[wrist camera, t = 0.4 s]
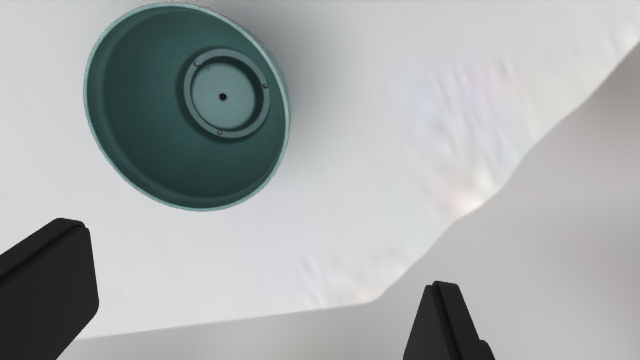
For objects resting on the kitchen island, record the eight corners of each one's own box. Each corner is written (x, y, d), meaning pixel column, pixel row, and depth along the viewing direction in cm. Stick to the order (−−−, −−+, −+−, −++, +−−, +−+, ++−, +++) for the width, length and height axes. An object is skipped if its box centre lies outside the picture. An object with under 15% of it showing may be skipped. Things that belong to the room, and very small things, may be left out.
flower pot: (135, 14, 36) (51, 11, 26) (298, 1, 34) (276, -8, 24) (171, 168, 42) (115, 213, 32) (311, 164, 41) (297, 209, 31)
